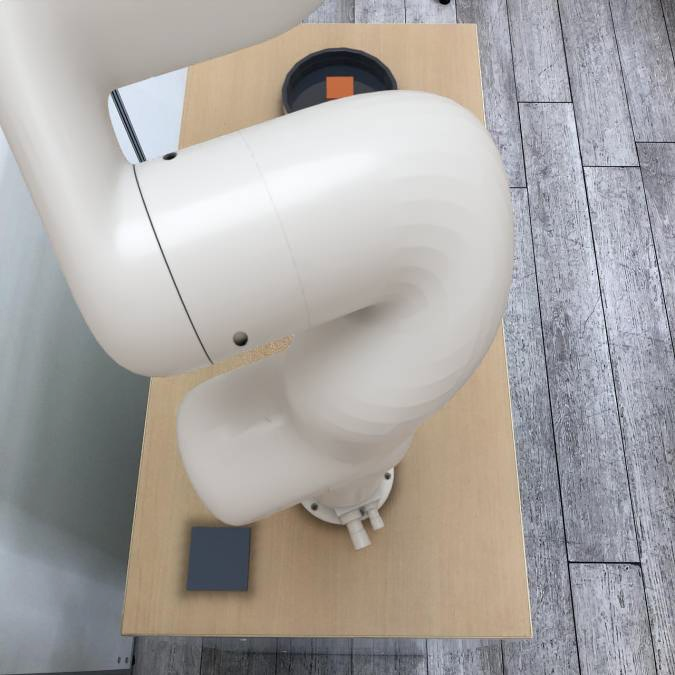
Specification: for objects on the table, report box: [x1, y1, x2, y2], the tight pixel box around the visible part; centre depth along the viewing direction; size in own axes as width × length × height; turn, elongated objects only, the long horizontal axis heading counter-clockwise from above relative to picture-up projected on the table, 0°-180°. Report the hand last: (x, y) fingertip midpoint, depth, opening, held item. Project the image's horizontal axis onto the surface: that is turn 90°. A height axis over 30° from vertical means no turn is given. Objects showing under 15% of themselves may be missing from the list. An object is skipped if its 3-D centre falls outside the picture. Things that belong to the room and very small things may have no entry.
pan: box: [281, 46, 399, 116], centre depth 96 cm, size 17×17×4 cm
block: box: [327, 77, 354, 102], centre depth 95 cm, size 4×4×4 cm
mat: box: [185, 526, 252, 592], centre depth 74 cm, size 7×7×1 cm
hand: (173, 6), depth 63 cm, fingers open, 9 cm apart
